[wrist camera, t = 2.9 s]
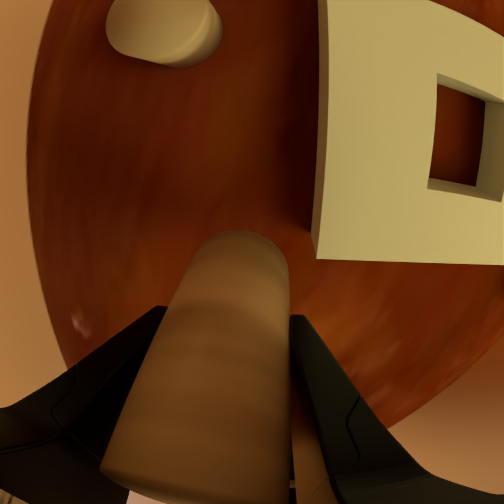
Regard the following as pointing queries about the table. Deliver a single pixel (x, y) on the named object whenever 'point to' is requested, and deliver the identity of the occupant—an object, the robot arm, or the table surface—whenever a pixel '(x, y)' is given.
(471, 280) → the table surface
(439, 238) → the board
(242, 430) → the long pin
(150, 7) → the short pin
